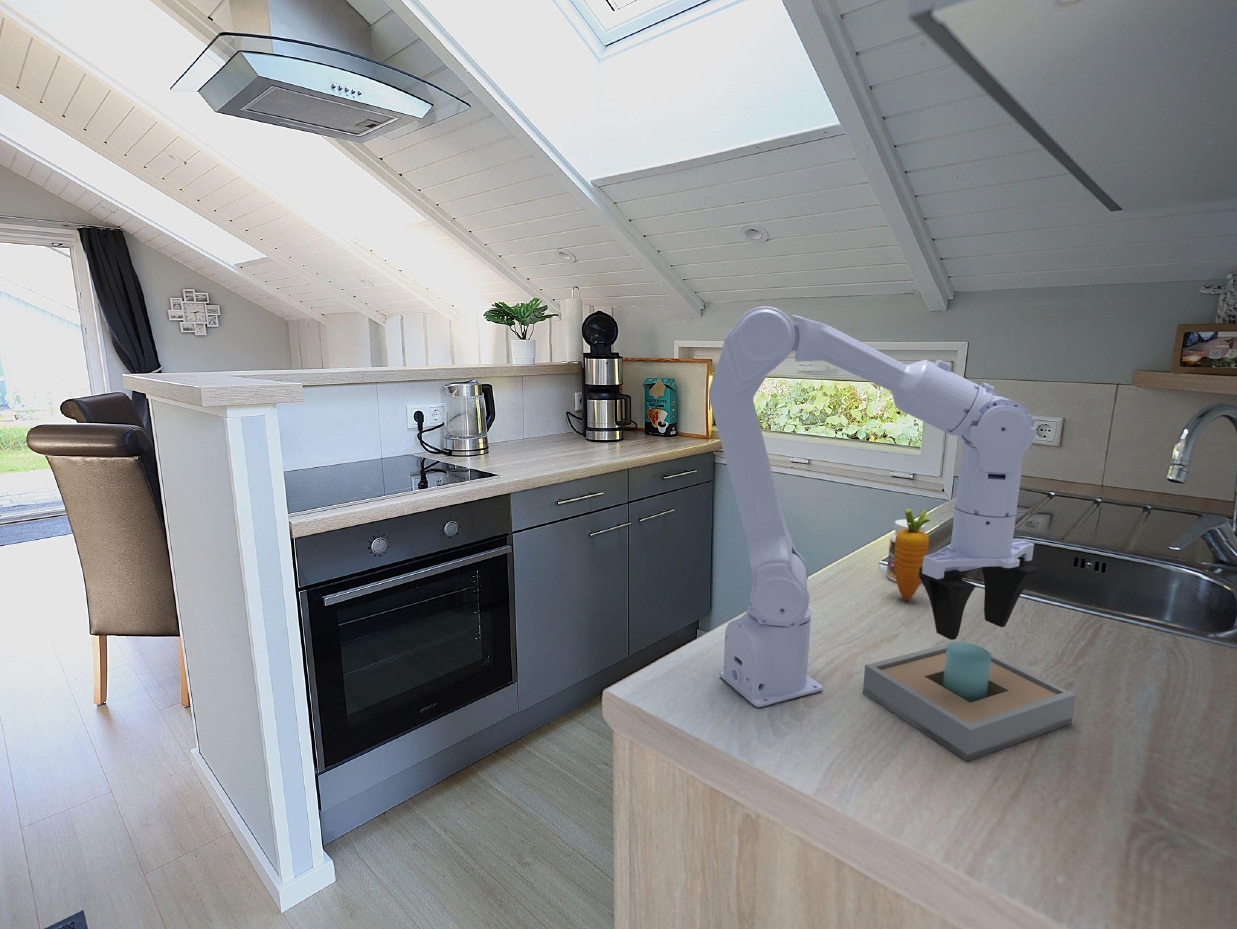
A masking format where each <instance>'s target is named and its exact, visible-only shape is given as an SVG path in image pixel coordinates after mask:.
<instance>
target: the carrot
mask: <svg viewBox="0 0 1237 929" xmlns="http://www.w3.org/2000/svg"><path fill="white" fill-rule="evenodd" d="M927 513H928V510H926V509H924V510H922V512H921V513H920V514H919V516H918V519H916V520H915V517H914V514H913V513H912V510H911V508H906V509H905V519H906V520H907V525H908V529H903V530H900V531H899V532H898V533H897V536H896V539H895V556H894V565H895V575H896V582H895V583H896V584H897V588H898V591H899V592H900V595H901V597H902V599H903V600H904V602H908V601H910V600H911V599H912V598H913V596H914V595H915V593H916V592H917V590H918V588H919V586H920V585H921V582H922V581H921V579H920V577H919V569H920V567H923V557H924V556H926V555H928V551H929V543H930V542H929V541H930V537H929V535H928V533H926V532H922V531H919V529H920V528H921V526H922V525H923V524H926V523H929V522H930V521H931V519H930V517H928V516H927V517H926V515H927ZM914 520H915V521H914ZM920 581H921V582H920Z"/></svg>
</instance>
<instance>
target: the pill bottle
mask: <svg viewBox="0 0 1237 929" xmlns="http://www.w3.org/2000/svg"><path fill="white" fill-rule="evenodd" d="M914 521H916V520H915V519H914ZM925 524H926V523H924V524H923V525H922V526H921V528H920V529H919V531H922V532H924V533H926V525H925ZM893 528H894V531H895V532H894V533H892V534H891V536H890V537H889V546H888V558H887V566H886V567H887V568H886V577H887V578H888V579H889V580H891V581H892V582H894V583H897V582H896V575H895V565H894V556H895V539H896V536H897V533H898V532H899V531H900V530H903V529H908V525H907V520H906V518H904V519H897V520H895V521H894V526H893ZM920 583H922V581H920Z"/></svg>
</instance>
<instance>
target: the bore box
mask: <svg viewBox="0 0 1237 929" xmlns="http://www.w3.org/2000/svg"><path fill="white" fill-rule="evenodd" d="M951 643H969V644H971V643H970V642H968V641H966V640H964V639H961V640H956V641H953V642H949V643H945V644H940V645H937V646H933V647H930V648H926V649H922V650H918V651H914V652H911V653H907V654H902V655H899V656H894V657H890V658H887V659H883V660H879V661H876V662H872V663H868V664H865V665H864V673H863V674H864V675H863V684H862V685H863V686H862V693H863V694H864V695H866V696H867V697H869V698H870V699H871V700H873V701H875V702H876V703H878V704H879V705H881V706H882V707H883V708H884V709H887V710H888V711H890V712H891V713H893V714H894V715H896V716H897V717H899V718H901V719H902V720H903V721H904V722H906V723H908V724H909V725H911V726H912V727H913V728H915V729H916V730H918V731H920V732H921V733H922V734H925V735H926V736H927V737H929V738H930V739H932V740H933V741H935V742H936V743H938V744H939V745H941V746H943V747H944V748H945V749H946V750H948V751H950V752H952V753H953V754H954V755H955V756H957V757H959V758H960V759H962V760H963V761H965V762H968V763H969V762H970V761H973V760H976V759H979V758H982V757H984V756H987V755H990V754H992V753H996V752H998V751H1000V750H1001V751H1002V750H1003V749H1007V748H1009V747H1012V746H1015V745H1017V744H1020V743H1024V742H1026V741H1028V740H1031V739H1034V738H1037V737H1040V736H1043V735H1044V734H1048V733H1051V732H1053V731H1056V730H1059V729H1061V728H1064V727H1067V726H1070V725H1072V724H1073V722H1072V721H1073V717H1074V710H1075V705H1076V704H1075V703H1076V698H1077V697H1076V696H1077V694H1076V693H1074V692H1071V691H1070V690H1068V689H1065V688H1063V687H1061V686H1059V685H1057V684H1055V683H1053V682H1052V681H1050V680H1047V679H1045V678H1043V677H1041V676H1039V675H1037V674H1036V673H1035V674H1034V673H1033V672H1030V671H1028V670H1027V669H1024V668H1022V667H1020V666H1018V665H1016V664H1013V663H1012V662H1010V661H1008V660H1006V659H1004V658H1001V657H999V656H997V655H995V654H993V653H992V652H989V653H990V654H991V664H990V672H989V680H988V688H987V696H986V698H984V699H980V700H977V701H974V702H971V703H970V702H968V701H966V700H965V699H963V698H961V697H959V696H958V695H956V694H954V693H953V692H951V691H949V690H947V689H946V688H944V687H943V678H944V669H945V660H946V650H947V646H948V645H949V644H951Z"/></svg>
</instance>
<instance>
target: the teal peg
mask: <svg viewBox="0 0 1237 929" xmlns="http://www.w3.org/2000/svg"><path fill="white" fill-rule="evenodd" d="M950 643H951V644H949V643H948V644H949V645H948V646H947V650H946V660H945V669H944V678H943V687H944V688H946V689H947V690H949V691H951V692H953V693H954V694H956V695H958V696H959V697H961V698H963V699H965V700H966V701H968V702H970V703H971V702H974V701H977V700H980V699H984V698H986V696H987V688H988V680H989V672H990V664H991V654H992V653H991V652H990V651H989V650H987V649H985V648H984V647H982V646H978V645H977V644H973V643H970V642H968V643H952V642H950ZM969 643H970V644H969ZM990 653H991V654H990Z"/></svg>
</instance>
